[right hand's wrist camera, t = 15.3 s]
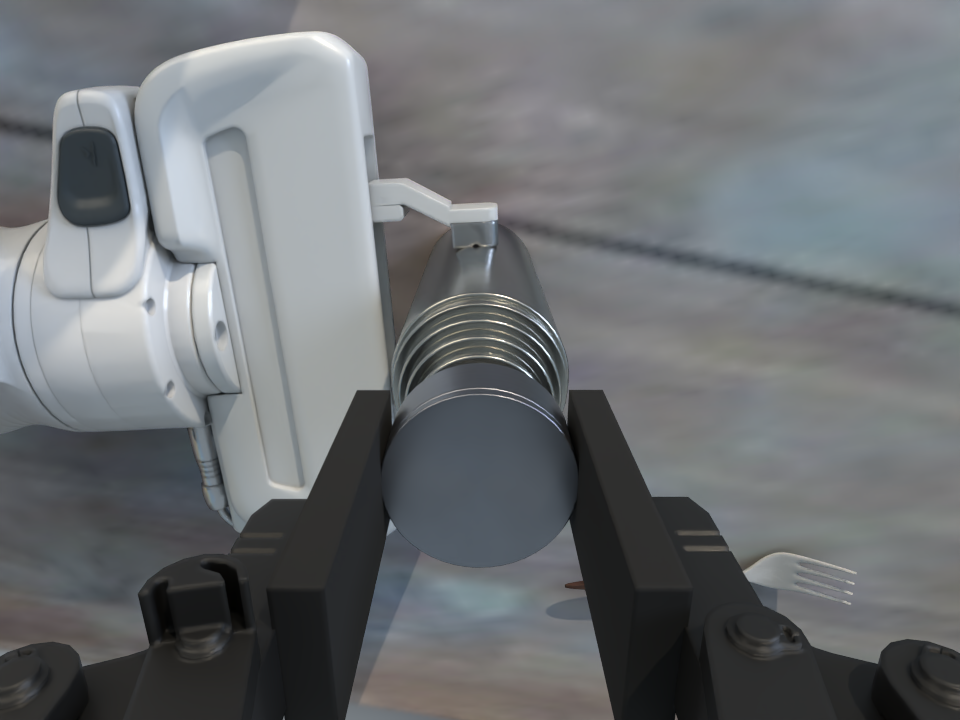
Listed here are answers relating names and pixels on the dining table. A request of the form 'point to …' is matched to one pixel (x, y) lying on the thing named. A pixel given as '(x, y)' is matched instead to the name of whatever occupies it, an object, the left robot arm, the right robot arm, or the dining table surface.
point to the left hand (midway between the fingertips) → (501, 304)
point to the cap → (479, 466)
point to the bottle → (480, 318)
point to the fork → (783, 575)
